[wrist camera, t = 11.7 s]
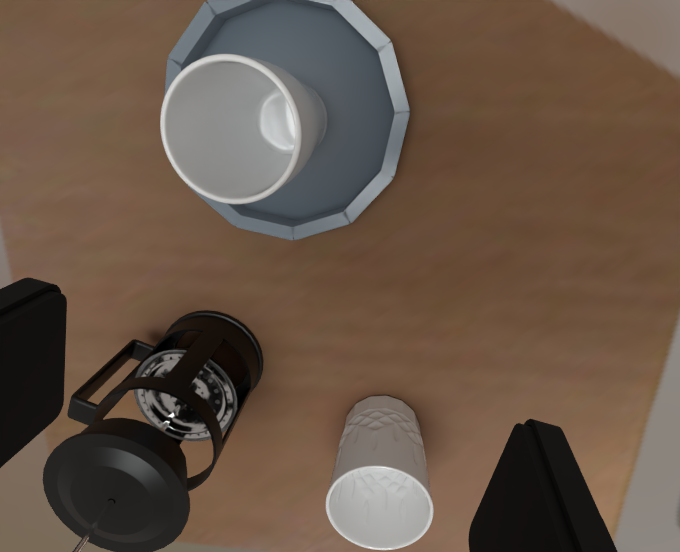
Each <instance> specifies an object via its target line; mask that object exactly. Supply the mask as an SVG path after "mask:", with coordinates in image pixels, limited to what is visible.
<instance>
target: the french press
mask: <svg viewBox="0 0 680 552" xmlns="http://www.w3.org/2000/svg"><path fill="white" fill-rule="evenodd" d="M187 331H198V332H202V333H201V334H200V336H199V337H198V338H197V339H196V341H195V342H194V343H193V344H192V345H191V347H190V348H189V349H184V348H179V349H176V345H177V343H178V340H179V339H180V337H181V336H182V335H183V334H184V333H185V332H187ZM222 340H224V341H225V342H226V343H228V344H229V345H231V346H232V347H233V348H234V349H235V350H236V352H237V353H238V354H239V355H240V357H241V358H242V360H243V361H244V364H245V366H246V368H247V374H246V377H245V378H244V380H243V381H242V382H241V383H240V384H239V385H238V386H236V387H235V386H234V384H233V381H232V379H231V377H230V376H229V374H228V373H227V372H226V370H225V369H224V368H223V367H222V366H221V365H220V364H219V363H218V362H217V361H216V360H214V359H213V358H212V357H211V356H212V354H213V353H214V352H215V350H216V349H217V347H218V346H219V345H220V343H221V342H222ZM131 358H133V359H136V360H138V361H141V362H140V364H139V365H138V366H137V367H136V368H135V369H134V370H133V371H132V372H131V373H130V374H129V375H128V376H127V377H126V378H125V379H124V380H123V381H122V382H121V383H120V384H119V385H118V386H117V387H115V388H114V389H113V390H112V391H111V392H110V393H109V394H108V395H107V396H106V397H105V398H104V399H103V400H102V401H101V402H100V403H99V405H97V404H94V403H92V402H89V401H87V400H88V399H89V398H90V397H91V396H92V395H93V394H94V393H95V392H96V391H97V390H98V389H99V388H100V387H101V386H102V385H103V384H104V383H105V382H106V381H107V380H108V379H109V378H110V377H111V376H112V375H113V374H114V373H116V372H117V371H118V370H119V369H120V368H121V367H122V366H123V365H124V364H125V363H126V362H127V361H128V360H129V359H131ZM262 370H263V357H262V351H261V348H260V346H259V343H258V341H257V340H256V338H255V337H254V335H253V334H252V332H251V331H250V330H249V329H248V328H247V327H246V326H245V325H243V324H242V323H241V322H239V321H238V320H237V319H235V318H233V317H231V316H229V315H226V314H223V313H220V312H214V311H197V312H193V313H190V314H187V315H185V316H183V317H181V318H179V319H178V320H177V321H176V322H174V323H173V324H172V325H171V327H170V328H169V329H168V331H167V332H166V334H165V336H164V337H163V338H162V339H161V340H160V341H159V342H158V344H157V345H156V346H155V347H154V346H151V345H149V344H146V343H144V342H141V341H139V340H136V339H135V340H132V341H131V342H129V343H128V344H127V345H126V346H125V347H124V348H123V349H122V350H121V351H120V352H119V353H117V354H116V355H115V356H114V357H113V358H112V359H111V360H110V361H109V362H108V363H107V364H105V365H104V366H103V367H102V368H101V369H100V370H99V371H98V372H97V373H96V374H95V375H93V376H92V377H91V378H90V379H89V380H88V381H87V382H86V383H85V384H84V385H83V386H81V387H80V388H79V389H78V390H77V391H76V392H75V393H74V394H73V395H72V397H71V400H70V404H69V409H68V417H69V418H71V419H74V420H76V421H79V422H81V423H84V424H86V425H89V426H88V427H87V428H86V429H84V430H83V431H82V432H81V433H80V434H76V435H74V436H72V437H70V438H68V439H66V440H65V441H63V442H62V443H61V444H60V445H58V446H57V447H56V448H55V449H54V450H53V452H52V453H51V455H50V456H49V457H48V459H47V462H46V464H45V467H44V472H43V484H44V491H45V494H46V497H47V499H48V502H49V504H50V506H51V507H52V509H53V511H54V512H55V514H56V515H57V516H58V517H59V519H60V520H61V521H62V522H63V523H64V524H65V525H66V526H67V527H68V528H70V530H72V531H73V532H74V533H75V534H77V535H78V536H80V537H81V538H82V539H81V540H80V542H79V543H78V544H77V546H76V547H75V549H74V550H73V551H72V552H81V550H82V549H83V547H84V546H85V545H86V543H87V542H90V543H92V544H94V545H96V546H98V547H101V548H104V549H107V550H110V551H114V552H153V551H156V550H159V549H161V548H164V547H165V546H167V545H169V544H170V543H172V542H173V541H174V540H175V539H176V538H177V537H178V536H179V535H180V534H181V532H182V530H183V528H184V527H185V525H186V523H187V521H188V516H189V512H190V498H189V494H188V491H190V490H192V489H195V488H196V487H198V486H199V485H201V484H202V483H203V482H204V481H205V480H206V479H207V478H208V477H209V475H210V473H211V471H212V470H213V468H214V466H215V464H216V462H217V460H218V458H219V456H220V454H221V452H222V449H223V447H224V445H225V443H226V441H227V439H228V437H229V435H230V433H231V431H232V429H233V427H234V425H235V423H236V421H237V419H238V417H239V415H240V413H241V411H242V409H243V407H244V405H245V403H246V401H247V399H248V397H249V395H250V393H251V392H252V390H253V389H254V388H255V387H256V385H257V384H258V382H259V380H260V378H261V374H262ZM133 389H134V394H135V398H136V401H137V404H138V406H139V408H140V410H141V412H142V413H143V415H144V416H145V417H146V419H147V420H148V421H149V422H150V423H151V424H152V425H153V426H151V425H149V424H147V423H144V422H141V421H138V420H134V419H127V418H110V419H105V420H103V418H104V417H105V416H106V415H107V413H108V412H109V411H110V410H111V409H112V408H113V407H114V406H115V405H116V404H117V402H118V401H119V400H120V399H121V398H122V397H123V396H124V395H125V394H126V393H127V392H128V390H133ZM227 428H228V429H227ZM226 429H227V431H226V433H225V435H224V437H223V439H222V433H223V432H224V431H225V430H226ZM208 439H212V443H213V451H214V457H213V461H212V464H211V465H210V466H209V467H208V468H207V469H206V470H204V471H203V472H201V473H200V474H198V475H196V476H193V477H191V478H187V467H186V458H185V455H184V454H183V452H182V450H181V448H180V444H181V442H182V441H183V440H186V441H203V440H208Z"/></svg>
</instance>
